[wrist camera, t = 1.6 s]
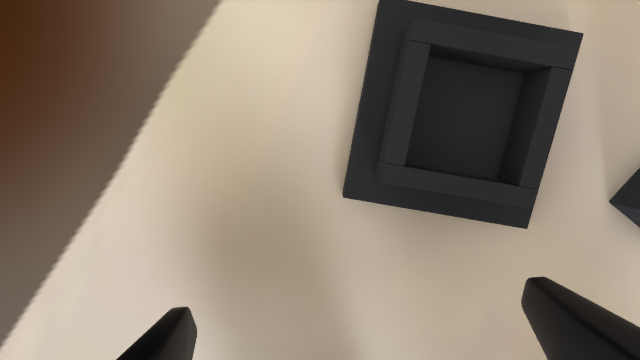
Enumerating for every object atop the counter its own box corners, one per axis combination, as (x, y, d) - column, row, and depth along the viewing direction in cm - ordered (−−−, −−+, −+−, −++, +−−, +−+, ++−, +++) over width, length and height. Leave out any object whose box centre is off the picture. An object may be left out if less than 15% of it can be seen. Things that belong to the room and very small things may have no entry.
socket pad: (518, 224, 23) (553, 241, 20) (342, 194, 23) (345, 206, 19) (571, 37, 21) (621, 19, 18) (378, 1, 21) (390, -24, 17)
